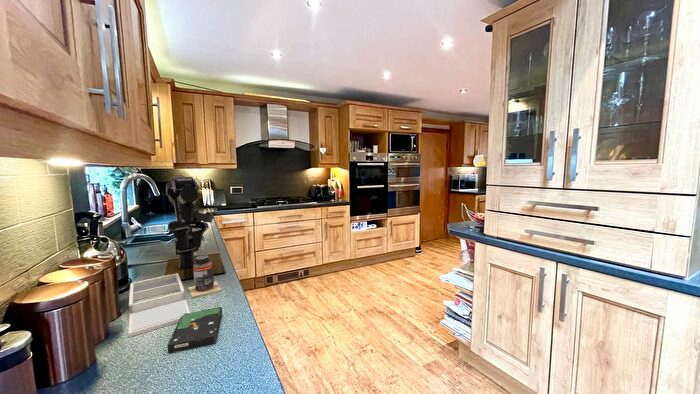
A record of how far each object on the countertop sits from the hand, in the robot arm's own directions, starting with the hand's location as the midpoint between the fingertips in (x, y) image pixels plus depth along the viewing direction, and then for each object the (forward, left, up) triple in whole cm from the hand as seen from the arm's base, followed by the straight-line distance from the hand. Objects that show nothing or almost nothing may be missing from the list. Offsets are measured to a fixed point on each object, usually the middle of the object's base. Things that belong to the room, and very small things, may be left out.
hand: (192, 248), depth 105 cm
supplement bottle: (+12, +1, -12) cm, 17 cm away
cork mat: (+13, +1, -12) cm, 18 cm away
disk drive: (+39, -5, -13) cm, 41 cm away
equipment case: (+15, -12, -12) cm, 23 cm away
